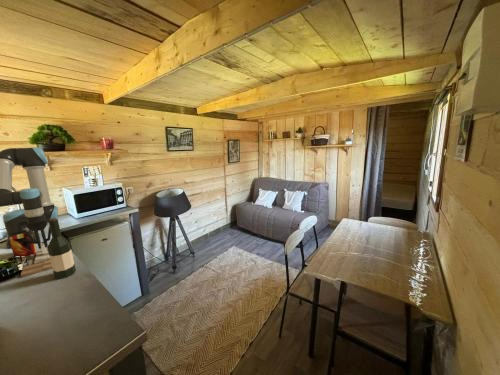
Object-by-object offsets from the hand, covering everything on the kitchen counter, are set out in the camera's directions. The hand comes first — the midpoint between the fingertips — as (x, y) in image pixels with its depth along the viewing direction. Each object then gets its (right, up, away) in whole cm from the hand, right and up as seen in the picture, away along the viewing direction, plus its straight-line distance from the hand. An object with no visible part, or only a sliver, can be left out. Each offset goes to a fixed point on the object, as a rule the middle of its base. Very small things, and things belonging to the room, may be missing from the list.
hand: (44, 252), depth 126 cm
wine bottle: (+28, -6, -18) cm, 34 cm away
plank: (0, -2, 0) cm, 2 cm away
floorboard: (+10, -5, -11) cm, 16 cm away
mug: (-14, -2, +5) cm, 15 cm away
